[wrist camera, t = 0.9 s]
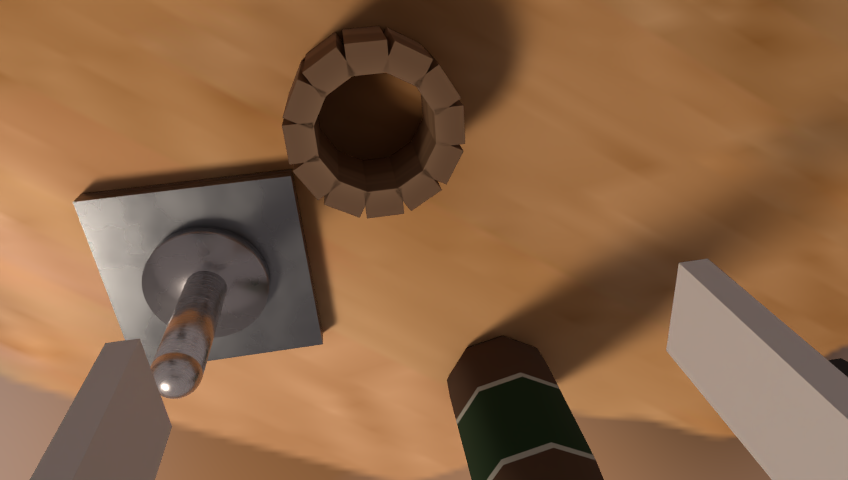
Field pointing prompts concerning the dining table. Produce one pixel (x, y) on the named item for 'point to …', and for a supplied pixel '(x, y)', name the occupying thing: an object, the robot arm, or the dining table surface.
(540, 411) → the beer bottle
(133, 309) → the post
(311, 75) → the ring
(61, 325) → the dining table surface
